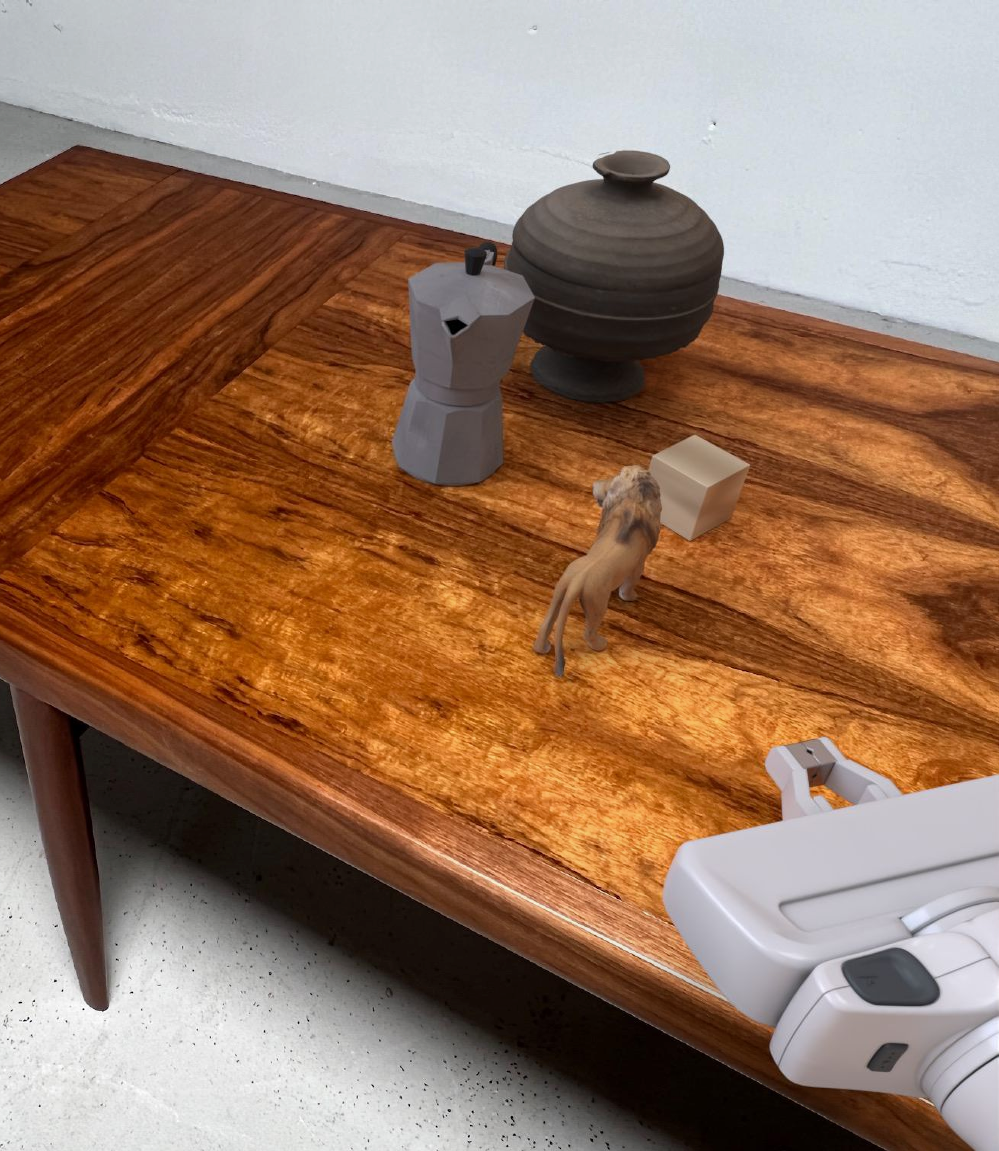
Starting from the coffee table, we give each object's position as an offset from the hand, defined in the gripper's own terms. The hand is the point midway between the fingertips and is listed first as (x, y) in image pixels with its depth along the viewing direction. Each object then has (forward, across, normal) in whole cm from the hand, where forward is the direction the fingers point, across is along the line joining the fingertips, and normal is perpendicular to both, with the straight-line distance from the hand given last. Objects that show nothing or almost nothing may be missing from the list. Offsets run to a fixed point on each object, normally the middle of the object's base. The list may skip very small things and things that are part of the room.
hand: (793, 749), depth 57 cm
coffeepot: (+42, +1, +10) cm, 43 cm away
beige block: (+30, -14, +10) cm, 34 cm away
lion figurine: (+21, -1, +10) cm, 23 cm away
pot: (+51, -16, +10) cm, 54 cm away
